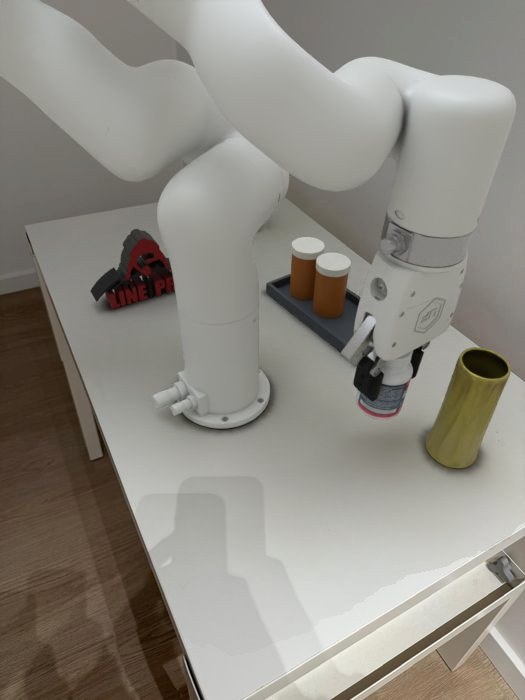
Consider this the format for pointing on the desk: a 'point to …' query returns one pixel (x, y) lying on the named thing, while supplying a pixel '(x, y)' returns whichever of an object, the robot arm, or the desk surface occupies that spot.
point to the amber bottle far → (304, 266)
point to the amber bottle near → (330, 284)
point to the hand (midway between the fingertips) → (384, 380)
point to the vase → (468, 407)
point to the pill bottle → (388, 389)
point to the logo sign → (136, 272)
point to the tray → (328, 328)
